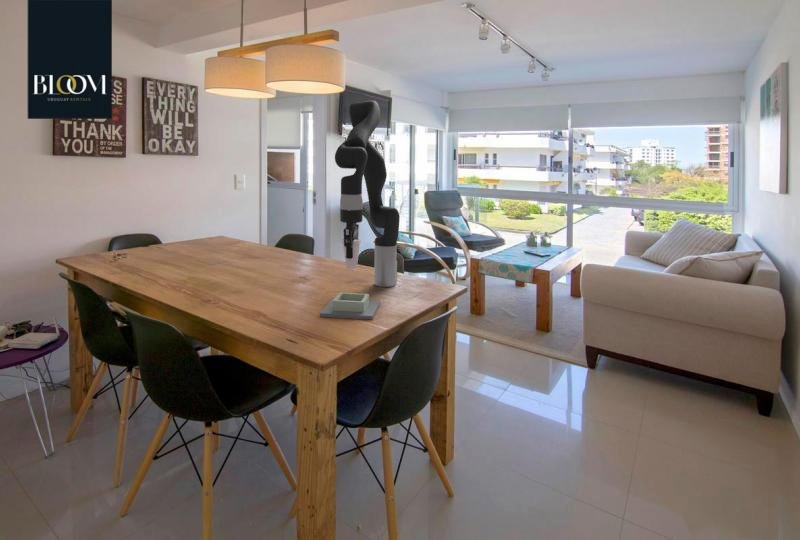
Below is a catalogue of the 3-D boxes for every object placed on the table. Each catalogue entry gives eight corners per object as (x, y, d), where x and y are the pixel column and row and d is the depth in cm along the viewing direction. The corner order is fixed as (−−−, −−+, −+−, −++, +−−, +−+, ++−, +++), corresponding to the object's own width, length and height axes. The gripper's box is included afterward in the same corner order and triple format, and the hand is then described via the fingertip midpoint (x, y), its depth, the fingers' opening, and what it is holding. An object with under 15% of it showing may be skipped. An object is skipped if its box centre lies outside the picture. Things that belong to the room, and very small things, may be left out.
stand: (332, 301, 181) (332, 289, 180) (380, 304, 179) (380, 291, 178) (319, 316, 163) (319, 303, 162) (372, 319, 162) (372, 306, 160)
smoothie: (361, 265, 171) (361, 226, 168) (360, 269, 165) (360, 228, 162) (343, 265, 171) (342, 226, 168) (341, 269, 165) (341, 228, 162)
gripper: (344, 205, 171) (345, 252, 174) (335, 209, 157) (335, 260, 160) (366, 206, 170) (365, 253, 174) (358, 210, 156) (358, 261, 160)
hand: (351, 256), depth 167 cm, fingers closed on smoothie, 6 cm apart
